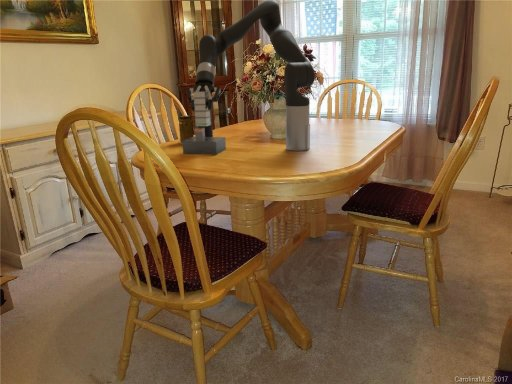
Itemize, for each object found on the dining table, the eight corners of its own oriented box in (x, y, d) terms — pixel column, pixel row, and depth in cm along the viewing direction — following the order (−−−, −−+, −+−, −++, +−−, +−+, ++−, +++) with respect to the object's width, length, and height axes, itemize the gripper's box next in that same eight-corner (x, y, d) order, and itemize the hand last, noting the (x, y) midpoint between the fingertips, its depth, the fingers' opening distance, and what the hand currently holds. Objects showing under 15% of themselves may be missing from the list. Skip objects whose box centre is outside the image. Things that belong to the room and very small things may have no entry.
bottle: (196, 141, 189) (193, 97, 184) (201, 139, 196) (198, 95, 190) (210, 141, 188) (207, 96, 182) (215, 139, 194) (212, 95, 188)
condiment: (179, 142, 190) (176, 115, 186) (197, 140, 192) (195, 114, 188) (180, 144, 183) (178, 117, 179) (199, 143, 185) (197, 116, 182)
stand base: (225, 149, 169) (224, 124, 166) (216, 154, 159) (215, 128, 156) (194, 148, 173) (192, 124, 170) (183, 153, 163) (181, 128, 160)
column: (211, 124, 165) (209, 91, 161) (206, 126, 160) (204, 92, 156) (200, 124, 166) (197, 91, 162) (195, 126, 161) (193, 92, 158)
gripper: (224, 82, 170) (221, 115, 162) (190, 83, 171) (185, 115, 163) (221, 69, 163) (217, 102, 155) (186, 70, 165) (180, 103, 157)
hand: (201, 109), depth 159 cm, fingers closed on column, 5 cm apart
